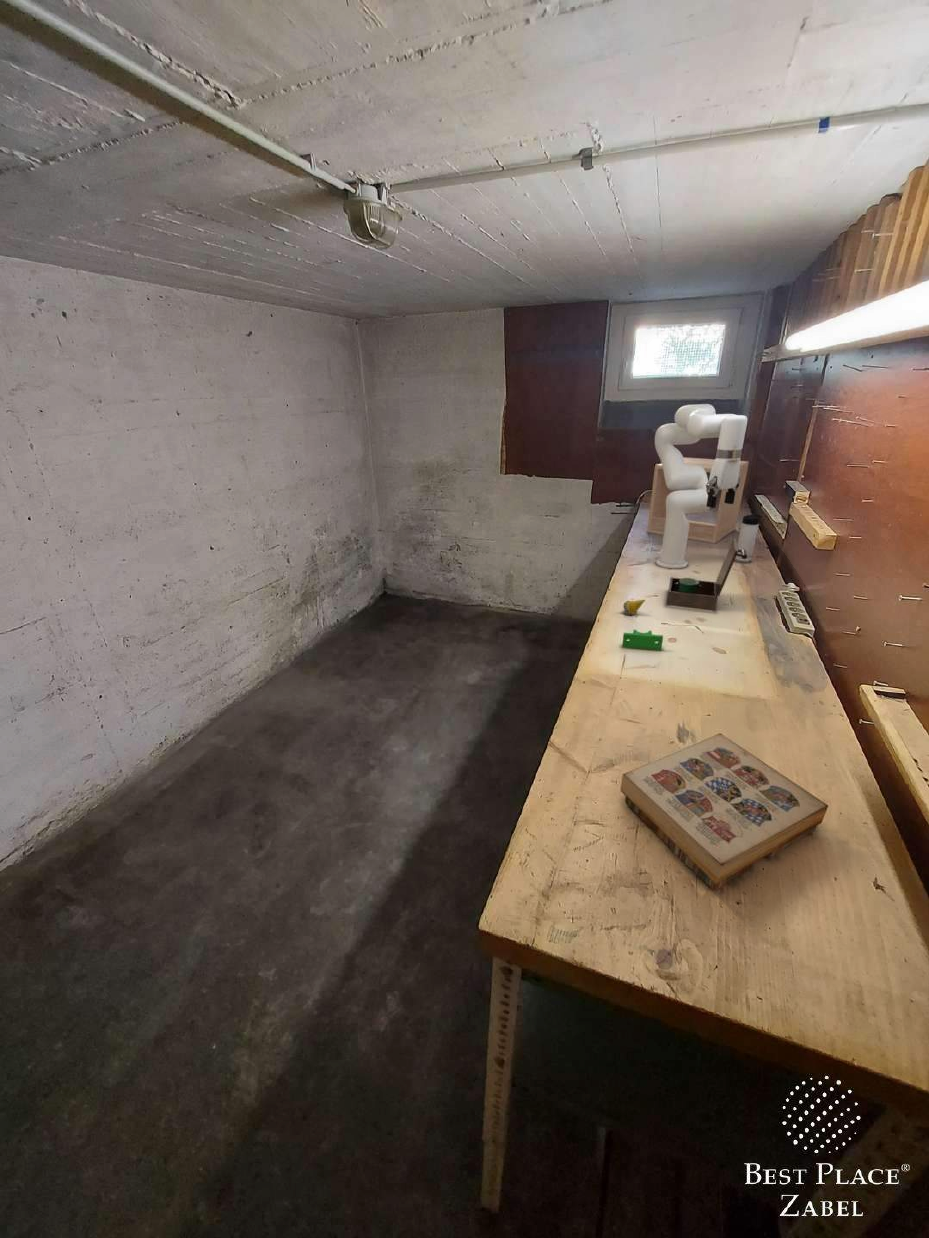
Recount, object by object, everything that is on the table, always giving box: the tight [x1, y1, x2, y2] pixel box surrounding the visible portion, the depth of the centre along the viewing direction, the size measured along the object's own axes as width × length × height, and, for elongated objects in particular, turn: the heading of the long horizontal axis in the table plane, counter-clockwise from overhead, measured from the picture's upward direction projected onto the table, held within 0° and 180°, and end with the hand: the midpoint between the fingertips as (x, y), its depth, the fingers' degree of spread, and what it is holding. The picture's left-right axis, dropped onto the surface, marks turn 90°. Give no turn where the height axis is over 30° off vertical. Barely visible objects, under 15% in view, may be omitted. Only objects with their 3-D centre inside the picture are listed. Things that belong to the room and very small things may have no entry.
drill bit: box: [623, 599, 646, 617], centre depth 165 cm, size 5×5×10 cm
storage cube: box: [646, 457, 750, 544], centre depth 246 cm, size 34×29×34 cm
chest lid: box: [715, 537, 747, 597], centre depth 164 cm, size 16×15×5 cm
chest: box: [665, 577, 719, 612], centre depth 173 cm, size 16×15×6 cm
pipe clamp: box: [621, 629, 664, 651], centre depth 147 cm, size 11×4×5 cm, turn 76°
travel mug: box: [734, 514, 762, 564], centre depth 206 cm, size 6×7×20 cm
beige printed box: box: [620, 733, 829, 891], centre depth 90 cm, size 25×6×28 cm
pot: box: [675, 577, 702, 594], centre depth 173 cm, size 9×7×7 cm
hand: (719, 505), depth 170 cm, fingers open, 9 cm apart
